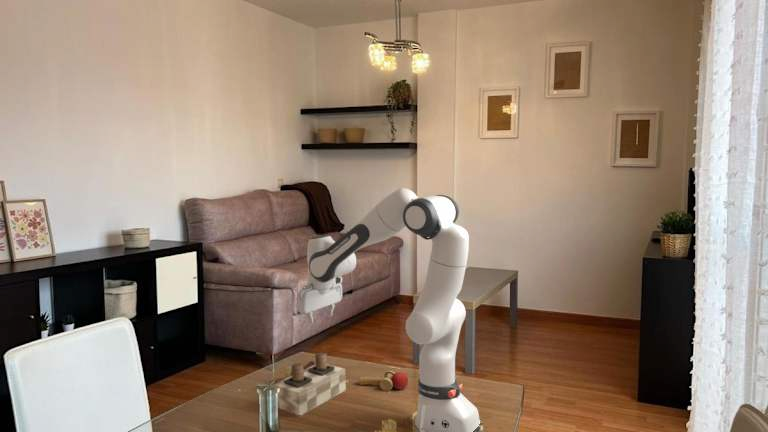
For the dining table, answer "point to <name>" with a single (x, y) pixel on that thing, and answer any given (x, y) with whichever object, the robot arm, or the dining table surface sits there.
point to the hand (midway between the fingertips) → (320, 319)
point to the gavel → (311, 363)
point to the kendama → (387, 380)
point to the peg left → (297, 372)
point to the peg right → (321, 361)
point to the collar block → (311, 389)
